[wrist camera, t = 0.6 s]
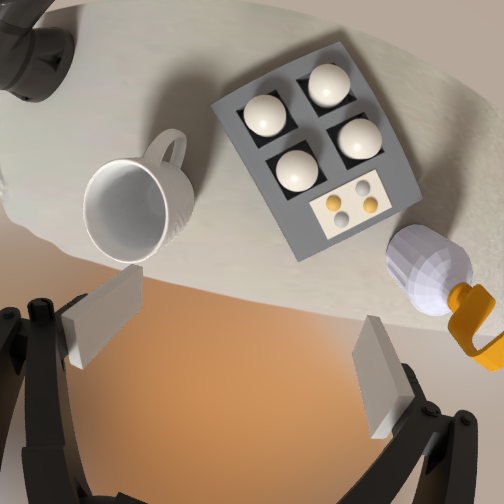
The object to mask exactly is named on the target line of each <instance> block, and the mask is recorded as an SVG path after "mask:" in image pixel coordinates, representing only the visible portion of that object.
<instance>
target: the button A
mask: <svg viewBox="0 0 504 504" xmlns="http://www.w3.org/2000/svg"><path fill="white" fill-rule="evenodd" d="M244 119H245V122H246V124H247V125H248V127H249V128H250V129H251V130H253V131H254V132H255V133H256V134H258V135H260V136H262V137H274V136H277V135H278V134H280V133H281V132H282V131H283V129H284V128H285V125H286V112H285V108H284V106H283V104H282V103H281V101H280V100H278V99H277V98H275V97H273V96H270V95H259V96H256V97H254V98H253V99H251V100H250V101H249V102H248V103H247V105H246V107H245V110H244Z"/></svg>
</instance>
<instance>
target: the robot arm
mask: <svg viewBox="0 0 504 504" xmlns="http://www.w3.org/2000/svg"><path fill="white" fill-rule="evenodd" d="M54 1H55V0H0V90H6V91H8V92H10V93H11V94H13V95H15V96H16V97H18V98H19V99H21V100H23V101H26V102H34V103H36V102H41V101H43V100H45V99H46V98H48V97H49V96H50V95H51V94H52V93H53V92H54V91H55V90H56V89H57V88H58V87H59V85H60V84H61V82H62V81H63V79H64V77H65V75H66V73H67V71H68V69H69V67H70V64H71V61H72V57H73V52H74V42H73V38H72V35H71V34H70V33H69V32H68V31H66V30H64V29H61V28H58V27H51V28H32V27H33V26H34V25H35V24H36V22H37V21H38V20H39V18H40V17H41V16H42V15H43V14H44V12H45V11H46V10H47V9H48V7H49V6H50V5H51V4H52V3H53V2H54ZM142 280H143V267H141V266H138V265H134V264H131V265H130V266H128V267H127V268H125V269H124V270H122V271H121V272H120V273H118V274H117V275H115V276H114V277H112V278H111V279H110V280H108V281H107V282H105V283H104V284H102V285H101V286H100V287H98V288H97V289H95V290H94V291H93V292H92V293H90V294H83V295H80V296H77V297H76V298H74V299H73V300H72V301H70V302H69V303H67V305H65V306H63V307H62V308H60V309H59V310H58V311H57V312H55V313H54V306H53V302H52V301H51V300H50V299H47V298H37V299H34V300H32V301H30V302H29V303H28V305H27V308H28V313H29V318H30V320H29V319H24V318H21V314H20V311H19V309H17V308H14V307H7V308H4V309H2V310H1V311H0V470H1V464H2V458H3V453H4V448H5V444H6V439H7V435H8V430H9V426H10V422H11V419H12V415H13V411H14V407H15V404H16V401H17V398H18V394H19V391H20V388H21V385H22V382H23V379H24V376H25V429H26V447H23V448H22V464H23V472H24V479H25V486H26V492H27V497H28V502H29V504H147V503H145V502H142V501H140V500H137V499H135V498H132V497H130V496H128V495H125V494H123V493H121V492H118V494H117V496H116V497H112V496H93V495H92V492H91V490H90V488H89V486H88V483H87V481H86V477H85V474H84V470H83V467H82V463H81V459H80V455H79V451H78V446H77V442H76V437H75V432H74V427H73V421H72V416H71V409H70V404H69V396H68V388H67V379H66V369H65V362H64V358H65V357H66V356H67V355H69V359H70V363H71V364H72V365H75V366H77V367H78V368H81V369H84V368H85V367H86V366H87V365H88V363H89V362H90V361H91V360H92V359H93V358H94V357H95V356H96V355H97V353H99V352H100V351H101V350H102V349H103V347H104V346H105V345H106V344H107V343H108V342H109V341H110V340H111V339H112V338H113V337H114V336H115V335H116V334H117V333H118V332H119V331H120V330H121V329H122V328H123V327H124V325H125V324H126V323H127V322H128V321H129V320H130V319H131V318H132V317H133V316H134V315H135V314H136V313H137V312H138V311H139V310H140V309H141V308H142ZM352 356H353V360H354V364H355V369H356V372H357V377H358V381H359V386H360V390H361V395H362V399H363V404H364V409H365V413H366V418H367V423H368V428H369V433H370V438H375V439H376V438H377V439H385V438H386V437H387V436H388V434H389V433H390V432H391V430H392V433H393V438H392V440H391V441H390V442H389V444H388V445H387V446H386V447H385V448H384V450H383V451H382V453H381V454H380V455H379V456H378V458H377V459H376V460H375V461H374V463H373V464H372V465H371V466H370V467H369V469H368V470H367V471H366V472H365V473H364V475H363V476H362V477H361V478H360V479H359V480H358V481H357V482H356V484H355V485H354V486H353V487H352V488H351V489H350V490H349V491H348V492H347V493H346V494H345V495H344V496H343V497H342V498H341V499H340V500H339V502H337V503H336V504H390V503H391V502H392V500H393V499H394V498H395V496H396V495H397V493H398V492H399V490H400V489H401V487H402V486H403V484H404V483H405V481H406V480H407V478H408V477H409V475H410V473H411V472H412V470H413V468H414V466H415V465H416V463H417V462H418V460H419V458H420V457H421V455H425V457H424V462H423V466H422V470H421V474H420V478H419V482H418V486H417V489H416V493H415V496H414V499H413V503H412V504H474V497H475V488H476V476H477V458H478V423H477V419H476V418H475V416H474V415H473V414H472V413H471V412H468V411H466V410H459V411H458V412H457V413H456V414H455V416H454V417H450V416H446V415H442V414H441V411H440V409H439V407H438V406H437V405H435V404H434V403H432V402H430V401H427V400H426V398H425V395H424V393H423V391H422V389H421V387H420V384H419V382H418V380H417V378H416V375H415V374H414V371H413V370H412V369H411V368H410V367H409V366H408V364H404V363H400V361H399V358H398V356H397V354H396V352H395V349H394V347H393V345H392V343H391V341H390V339H389V336H388V334H387V332H386V330H385V328H384V326H383V324H382V322H381V320H380V318H379V317H376V316H370V315H367V317H366V320H365V323H364V325H363V328H362V330H361V333H360V335H359V338H358V340H357V343H356V345H355V347H354V350H353V352H352Z"/></svg>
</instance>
